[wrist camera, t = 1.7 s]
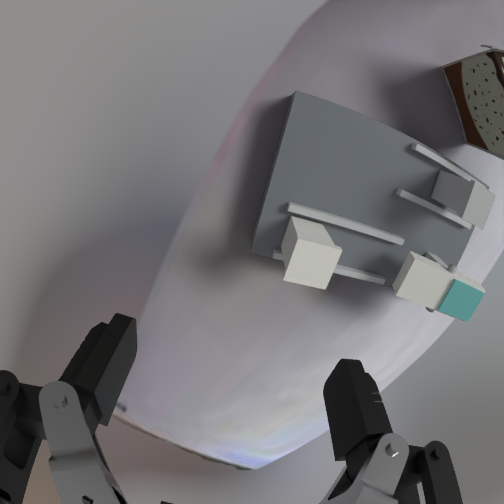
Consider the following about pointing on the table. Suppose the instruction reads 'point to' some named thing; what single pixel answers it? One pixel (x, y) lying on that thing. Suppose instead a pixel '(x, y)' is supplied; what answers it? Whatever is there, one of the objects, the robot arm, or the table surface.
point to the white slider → (308, 253)
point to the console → (359, 192)
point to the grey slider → (464, 197)
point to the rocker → (437, 287)
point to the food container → (480, 98)
